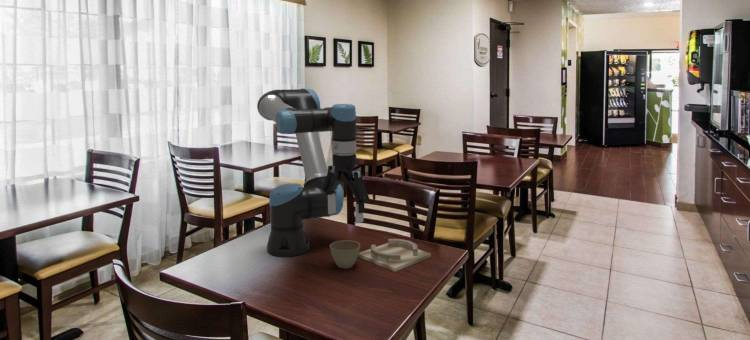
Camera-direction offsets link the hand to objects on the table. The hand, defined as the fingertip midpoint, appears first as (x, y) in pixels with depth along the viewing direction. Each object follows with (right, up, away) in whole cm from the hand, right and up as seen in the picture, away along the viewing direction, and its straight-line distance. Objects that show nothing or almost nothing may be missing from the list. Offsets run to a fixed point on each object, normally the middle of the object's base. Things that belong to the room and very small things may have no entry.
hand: (345, 217), depth 161 cm
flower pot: (0, -16, +3) cm, 17 cm away
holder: (+16, -15, +10) cm, 24 cm away
